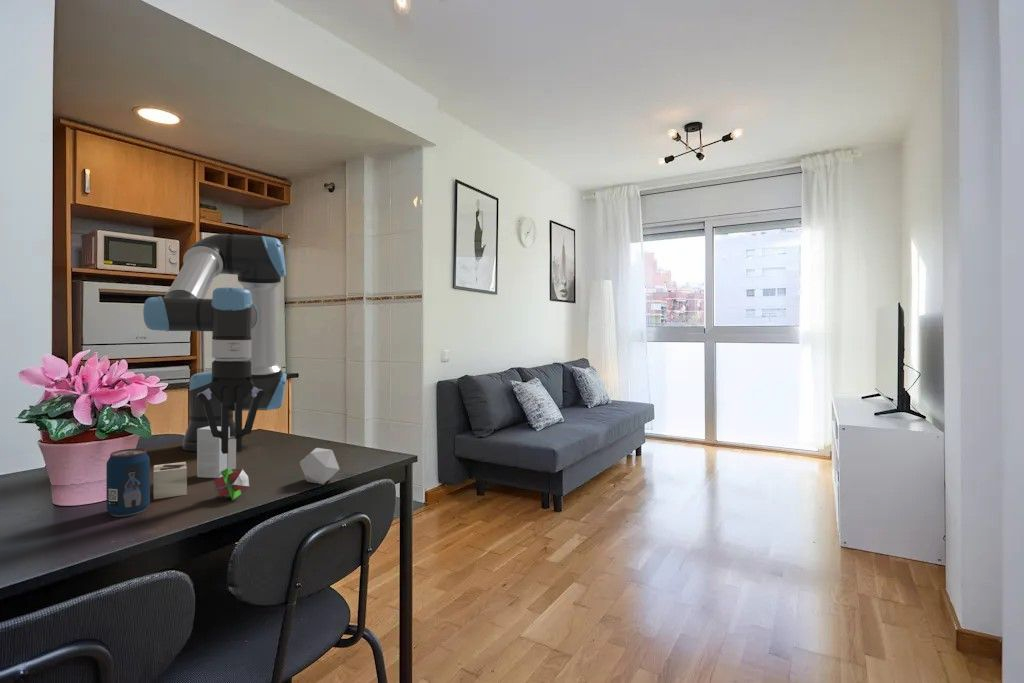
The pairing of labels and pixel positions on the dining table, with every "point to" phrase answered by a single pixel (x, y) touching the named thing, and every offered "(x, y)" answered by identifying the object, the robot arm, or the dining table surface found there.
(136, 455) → the soda can
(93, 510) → the dining table surface
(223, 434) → the robot arm
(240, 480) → the geometric puzzle
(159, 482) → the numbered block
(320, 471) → the die
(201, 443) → the skincare box
